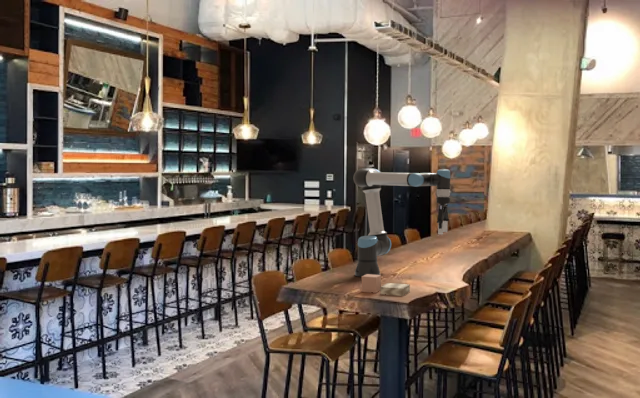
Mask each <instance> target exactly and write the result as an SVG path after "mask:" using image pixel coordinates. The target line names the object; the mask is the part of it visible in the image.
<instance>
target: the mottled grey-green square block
mask: <svg viewBox="0 0 640 398" xmlns="http://www.w3.org/2000/svg"><path fill="white" fill-rule="evenodd" d="M410 286H411V285H410V284H407V283H394V282H393V283H390V282H387V283H385V284H383V285H381V290H380V295H385V294H386V295H387V296H398V297H404V296H406V295H407V294H409V293H410V292H411V291H410V289H411V287H410ZM408 292H409V293H408ZM405 294H406V295H405Z"/></svg>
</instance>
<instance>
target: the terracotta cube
mask: <svg viewBox="0 0 640 398" xmlns="http://www.w3.org/2000/svg"><path fill="white" fill-rule="evenodd" d="M381 286H382V275H381V274H380V275H372V274H366V275H364V276H362V277H361V293H362V292H364V293H371V292H373V293H372V294H377V293H378V291H379V292H381Z"/></svg>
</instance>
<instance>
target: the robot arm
mask: <svg viewBox="0 0 640 398" xmlns="http://www.w3.org/2000/svg"><path fill="white" fill-rule="evenodd" d="M451 179H452V178H451V171H450V170H449V169H438V170H437V171H436V172H432V173H431V172H420V173H419V172H382V171H380V170H378V169H376V168H373V167H371V168H370V167H369V168H368V167H367V168H363V167H362V168H359V169H357V170H355V172H354V174H353V183H354V184H355V186H357V187H359V188H361V189H362V190H361V191H362V192H363V193H364V196H365V202H366V210H367V218H368V227H369V233H368V234H367V235H362V236H360V237H358V239H357V264H356V266H355V270H354V276H355V277H360V278H362V276H364V275H366V274H372V275H381V270H380V267H379V264H378V256H384V255H386V254H388V253H389V252H390V251H391V248H392V240H391V238H389V236H388V232H387V231H385V227H384V220H383V214H382V213H383V212H382V206H381V205H382V204H381V198H380V191H381V190H382V186H400V187H416V188H418V187H431V186H432V187H436V196H437V197H436V204H439V205H438V212H437V213H438V214H437V221H436V224H437V235H444V233H448V223H449V221H450V219H449V210H448V208H449V207H448V204H450V203H451V197H450V196H451V193H452V191H451Z"/></svg>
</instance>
